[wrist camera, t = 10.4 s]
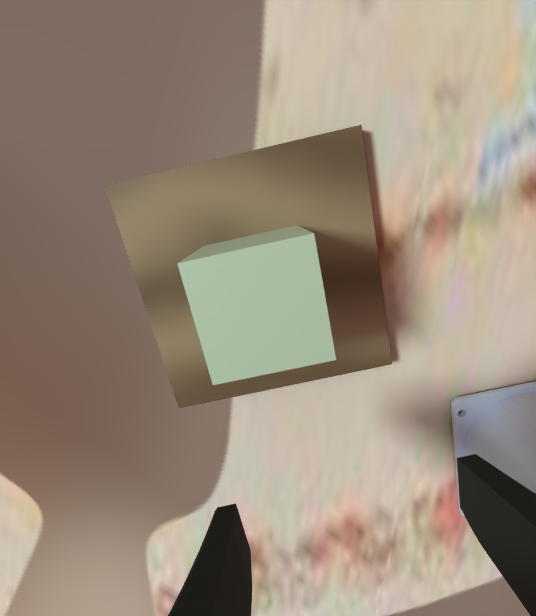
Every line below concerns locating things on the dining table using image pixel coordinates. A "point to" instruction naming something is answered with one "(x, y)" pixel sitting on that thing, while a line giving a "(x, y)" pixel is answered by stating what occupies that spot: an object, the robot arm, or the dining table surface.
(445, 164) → the dining table surface
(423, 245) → the dining table surface
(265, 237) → the sage block
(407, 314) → the dining table surface
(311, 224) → the walnut base board
